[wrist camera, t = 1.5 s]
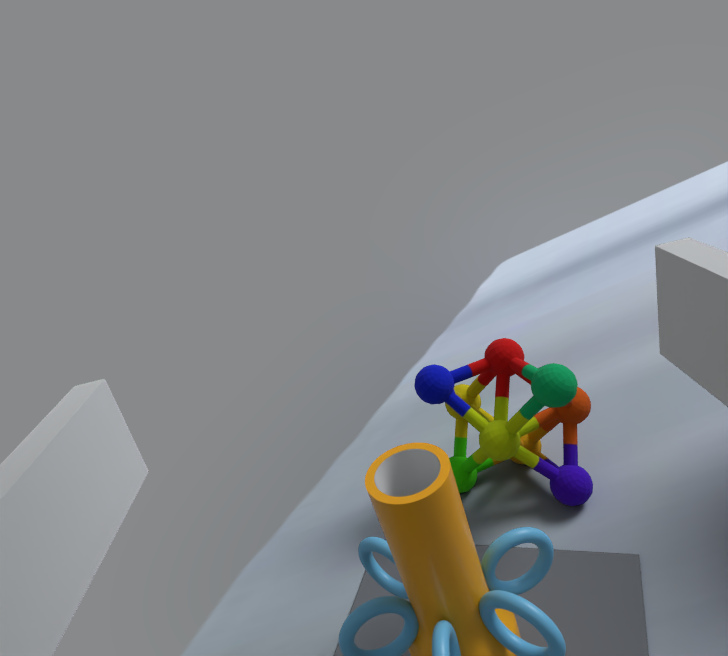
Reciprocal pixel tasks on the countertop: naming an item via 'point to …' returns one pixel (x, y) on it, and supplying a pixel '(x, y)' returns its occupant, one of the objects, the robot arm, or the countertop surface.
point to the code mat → (548, 602)
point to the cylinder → (443, 568)
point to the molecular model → (523, 429)
